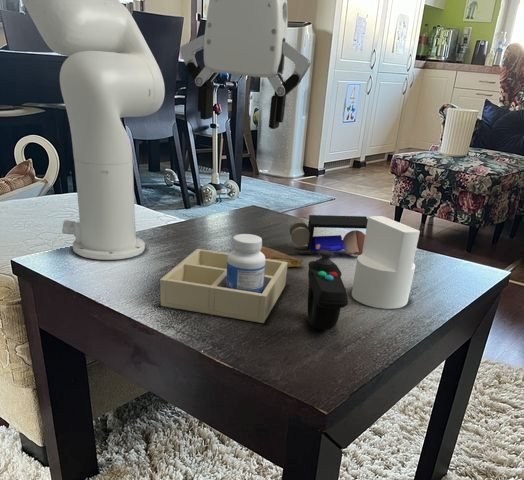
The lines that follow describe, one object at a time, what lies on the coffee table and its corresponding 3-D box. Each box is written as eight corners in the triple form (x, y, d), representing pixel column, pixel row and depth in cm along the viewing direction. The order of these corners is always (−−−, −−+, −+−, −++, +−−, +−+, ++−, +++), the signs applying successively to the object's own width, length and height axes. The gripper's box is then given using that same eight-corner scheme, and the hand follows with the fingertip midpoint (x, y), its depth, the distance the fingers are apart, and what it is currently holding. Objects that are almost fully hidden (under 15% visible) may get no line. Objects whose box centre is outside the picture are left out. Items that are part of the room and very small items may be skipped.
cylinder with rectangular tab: (419, 304, 85) (436, 230, 79) (375, 312, 81) (389, 234, 75) (383, 284, 92) (396, 214, 86) (340, 290, 88) (351, 217, 82)
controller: (329, 311, 80) (338, 246, 75) (343, 350, 69) (355, 277, 64) (300, 309, 80) (308, 244, 75) (310, 348, 69) (320, 275, 64)
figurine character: (291, 263, 102) (370, 260, 102) (290, 224, 98) (372, 221, 98) (289, 252, 108) (364, 249, 108) (289, 215, 104) (365, 212, 104)
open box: (160, 305, 77) (160, 279, 75) (196, 271, 90) (197, 248, 88) (263, 323, 74) (266, 296, 73) (285, 285, 88) (287, 261, 86)
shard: (302, 268, 96) (303, 258, 95) (273, 277, 91) (274, 267, 90) (259, 252, 102) (260, 243, 101) (230, 259, 97) (230, 250, 96)
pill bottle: (224, 294, 80) (227, 231, 76) (260, 295, 81) (264, 232, 76) (226, 309, 76) (229, 242, 71) (264, 310, 76) (269, 244, 72)
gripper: (325, -19, 66) (306, 128, 74) (194, -30, 69) (190, 113, 78) (314, -29, 60) (295, 134, 68) (171, -40, 63) (169, 117, 71)
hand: (239, 123), depth 73 cm, fingers open, 9 cm apart
